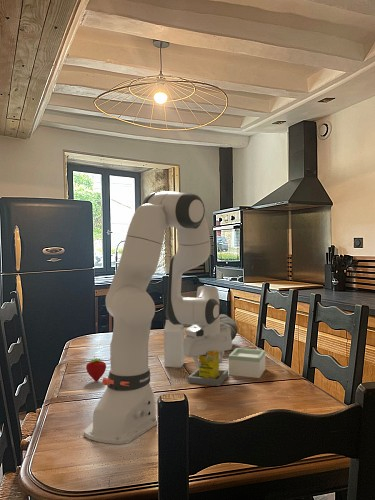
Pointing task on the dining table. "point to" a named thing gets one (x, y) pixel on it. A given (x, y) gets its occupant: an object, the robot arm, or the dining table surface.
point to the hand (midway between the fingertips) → (208, 364)
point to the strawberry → (96, 368)
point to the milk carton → (173, 345)
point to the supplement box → (209, 365)
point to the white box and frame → (236, 367)
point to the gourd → (227, 324)
